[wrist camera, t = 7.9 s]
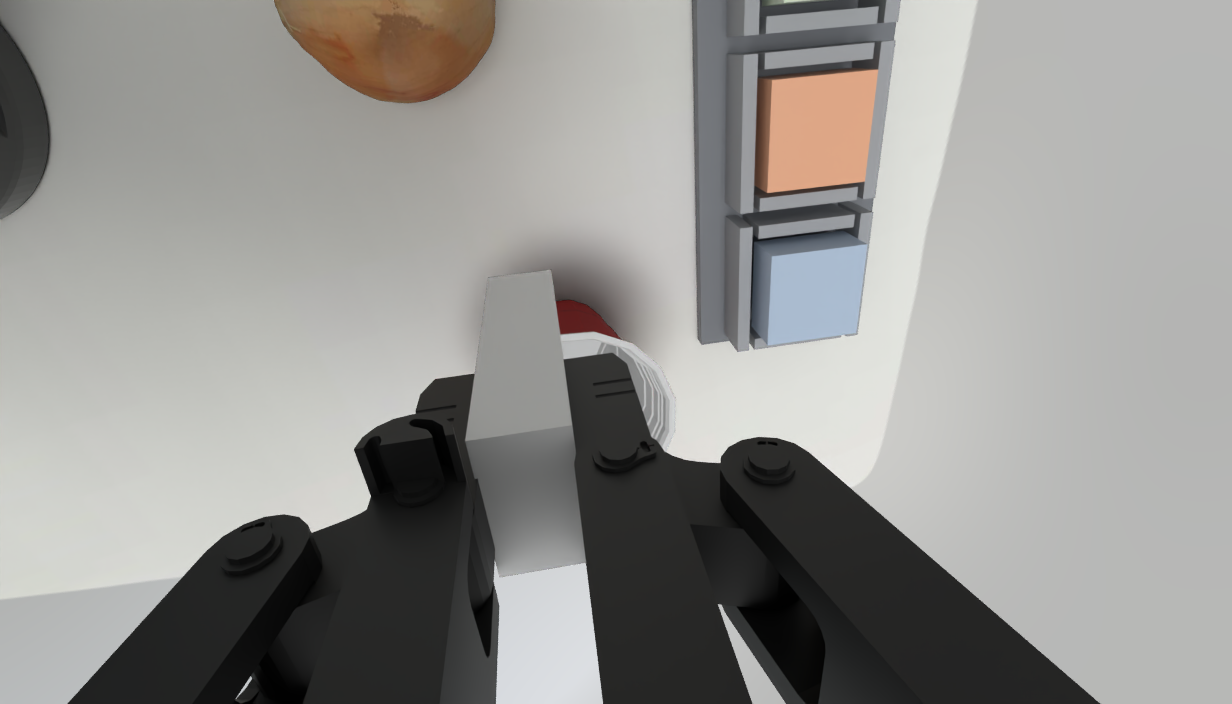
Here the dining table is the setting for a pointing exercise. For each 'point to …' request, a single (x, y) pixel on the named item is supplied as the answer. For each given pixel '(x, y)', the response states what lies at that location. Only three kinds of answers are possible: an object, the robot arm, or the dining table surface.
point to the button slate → (807, 286)
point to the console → (726, 130)
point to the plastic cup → (594, 336)
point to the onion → (393, 42)
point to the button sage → (786, 2)
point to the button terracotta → (813, 128)
